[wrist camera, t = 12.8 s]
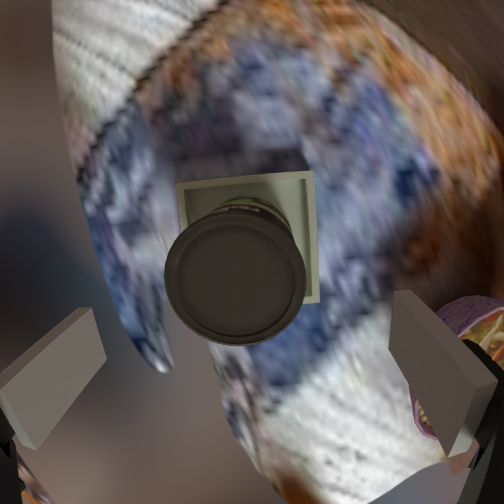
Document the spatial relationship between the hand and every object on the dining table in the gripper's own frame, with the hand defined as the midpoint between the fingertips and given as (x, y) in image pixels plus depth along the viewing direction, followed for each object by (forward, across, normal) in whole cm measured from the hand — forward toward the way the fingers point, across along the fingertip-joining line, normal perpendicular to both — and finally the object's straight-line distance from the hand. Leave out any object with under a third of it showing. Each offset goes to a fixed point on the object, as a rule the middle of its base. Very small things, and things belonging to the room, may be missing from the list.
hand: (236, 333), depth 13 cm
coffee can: (+24, -1, -1) cm, 24 cm away
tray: (+25, -1, -1) cm, 25 cm away
